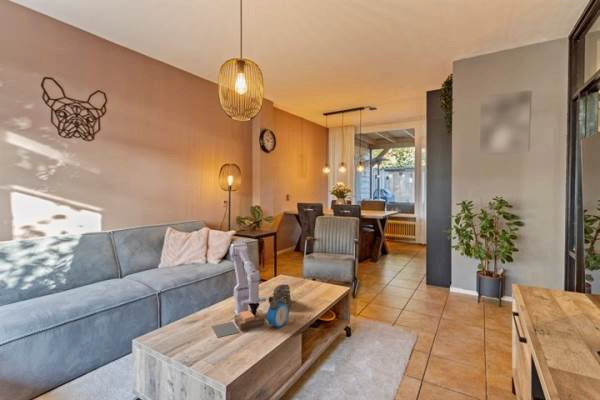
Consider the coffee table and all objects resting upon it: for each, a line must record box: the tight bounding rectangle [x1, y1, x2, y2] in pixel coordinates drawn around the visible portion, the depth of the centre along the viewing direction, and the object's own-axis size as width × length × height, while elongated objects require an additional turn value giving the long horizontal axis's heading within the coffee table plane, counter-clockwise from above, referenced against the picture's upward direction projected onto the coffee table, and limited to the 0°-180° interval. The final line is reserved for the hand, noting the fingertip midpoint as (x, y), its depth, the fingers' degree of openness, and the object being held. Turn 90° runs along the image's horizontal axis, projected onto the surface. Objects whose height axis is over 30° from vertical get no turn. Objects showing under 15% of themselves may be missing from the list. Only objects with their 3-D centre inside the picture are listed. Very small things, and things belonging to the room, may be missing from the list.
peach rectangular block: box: [240, 309, 255, 322], centre depth 169 cm, size 9×6×2 cm, turn 30°
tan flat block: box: [234, 310, 265, 332], centre depth 170 cm, size 12×14×4 cm
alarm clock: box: [266, 298, 290, 329], centre depth 169 cm, size 13×6×15 cm, turn 142°
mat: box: [211, 321, 241, 338], centre depth 163 cm, size 14×12×1 cm
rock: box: [268, 283, 292, 307], centre depth 197 cm, size 18×14×15 cm
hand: (253, 315), depth 171 cm, fingers closed
